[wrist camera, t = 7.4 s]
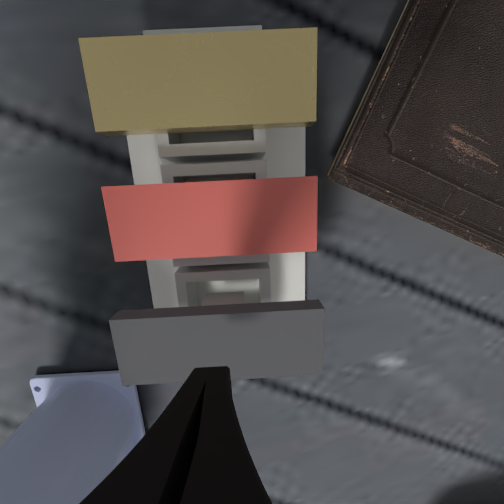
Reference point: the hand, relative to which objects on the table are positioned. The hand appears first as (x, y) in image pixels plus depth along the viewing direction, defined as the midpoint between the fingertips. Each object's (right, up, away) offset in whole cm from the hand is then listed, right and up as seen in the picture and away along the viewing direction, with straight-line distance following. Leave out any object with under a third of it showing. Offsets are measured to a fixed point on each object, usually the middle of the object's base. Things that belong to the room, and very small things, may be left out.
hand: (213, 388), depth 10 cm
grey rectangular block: (0, +2, +6) cm, 6 cm away
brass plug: (-1, +14, +5) cm, 15 cm away
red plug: (0, +8, +6) cm, 10 cm away
